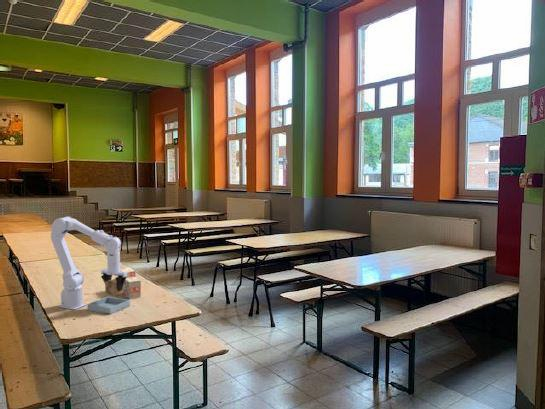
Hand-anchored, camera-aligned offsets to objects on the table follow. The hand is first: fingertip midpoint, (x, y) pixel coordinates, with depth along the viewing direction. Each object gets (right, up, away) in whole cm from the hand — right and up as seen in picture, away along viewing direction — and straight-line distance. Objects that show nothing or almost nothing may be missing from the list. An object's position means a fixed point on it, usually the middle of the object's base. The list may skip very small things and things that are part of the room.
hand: (114, 289), depth 204 cm
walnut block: (0, -2, 0) cm, 2 cm away
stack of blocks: (0, -7, +23) cm, 24 cm away
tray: (-2, -9, -2) cm, 9 cm away
